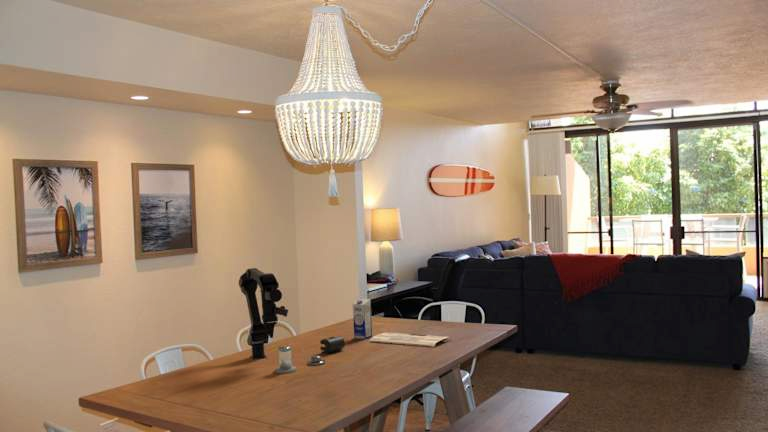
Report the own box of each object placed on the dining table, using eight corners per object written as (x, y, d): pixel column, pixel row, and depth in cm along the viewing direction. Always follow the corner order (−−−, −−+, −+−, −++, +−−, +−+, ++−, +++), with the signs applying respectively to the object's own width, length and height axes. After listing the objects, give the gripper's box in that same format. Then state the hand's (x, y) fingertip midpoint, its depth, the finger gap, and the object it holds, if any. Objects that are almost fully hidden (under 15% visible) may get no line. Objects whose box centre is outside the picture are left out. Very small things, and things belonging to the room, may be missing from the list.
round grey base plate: (305, 362, 301) (305, 356, 301) (322, 360, 304) (322, 353, 304) (309, 366, 294) (309, 359, 294) (327, 364, 297) (327, 357, 296)
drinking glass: (281, 366, 291) (280, 346, 291) (293, 366, 290) (292, 345, 290) (277, 370, 286) (276, 348, 286) (290, 369, 285) (289, 348, 285)
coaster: (273, 369, 291) (273, 367, 291) (293, 367, 294) (293, 364, 294) (277, 374, 282) (277, 372, 282) (298, 371, 285) (298, 369, 285)
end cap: (331, 354, 315) (330, 340, 315) (320, 353, 320) (319, 339, 319) (345, 350, 323) (344, 336, 323) (334, 349, 327) (333, 335, 327)
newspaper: (451, 341, 335) (450, 335, 335) (433, 349, 319) (432, 343, 319) (388, 336, 355) (387, 331, 355) (367, 343, 338) (367, 338, 338)
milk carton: (372, 337, 352) (370, 298, 351) (365, 339, 346) (363, 300, 346) (361, 336, 356) (359, 298, 355) (354, 338, 350) (352, 300, 349)
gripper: (287, 300, 295) (290, 336, 294) (284, 299, 313) (287, 333, 312) (261, 303, 292) (264, 339, 291) (260, 301, 310) (263, 336, 309)
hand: (271, 337), depth 301 cm, fingers open, 9 cm apart
